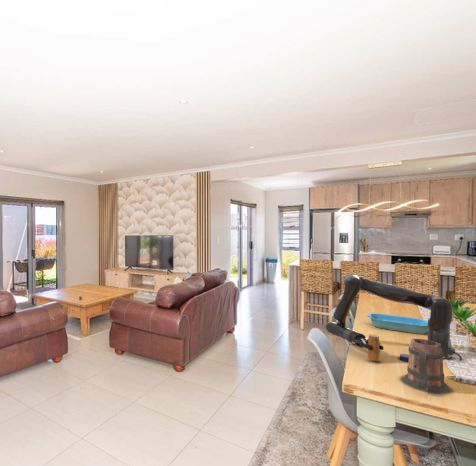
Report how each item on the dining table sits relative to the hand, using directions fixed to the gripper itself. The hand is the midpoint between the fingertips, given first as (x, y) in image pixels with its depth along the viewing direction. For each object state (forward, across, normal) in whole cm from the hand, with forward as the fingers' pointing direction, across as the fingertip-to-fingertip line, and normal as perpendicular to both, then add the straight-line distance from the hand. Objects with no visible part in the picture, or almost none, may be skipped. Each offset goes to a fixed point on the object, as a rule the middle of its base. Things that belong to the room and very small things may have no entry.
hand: (377, 348), depth 178 cm
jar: (-3, 0, -7) cm, 7 cm away
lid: (-3, -19, -6) cm, 20 cm away
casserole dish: (-55, -63, -9) cm, 84 cm away
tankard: (+26, 0, -8) cm, 27 cm away
